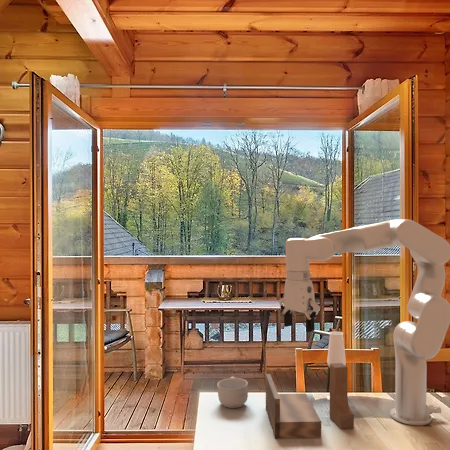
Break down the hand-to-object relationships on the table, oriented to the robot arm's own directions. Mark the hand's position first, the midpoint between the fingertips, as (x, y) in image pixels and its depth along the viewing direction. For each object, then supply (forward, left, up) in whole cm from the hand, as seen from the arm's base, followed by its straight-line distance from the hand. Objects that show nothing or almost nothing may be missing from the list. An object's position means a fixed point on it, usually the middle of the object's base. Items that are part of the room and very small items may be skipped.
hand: (299, 328), depth 149 cm
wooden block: (-13, +2, -30) cm, 33 cm away
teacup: (+21, -15, -30) cm, 40 cm away
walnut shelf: (+3, +1, -30) cm, 30 cm away
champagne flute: (-17, -18, -30) cm, 39 cm away
